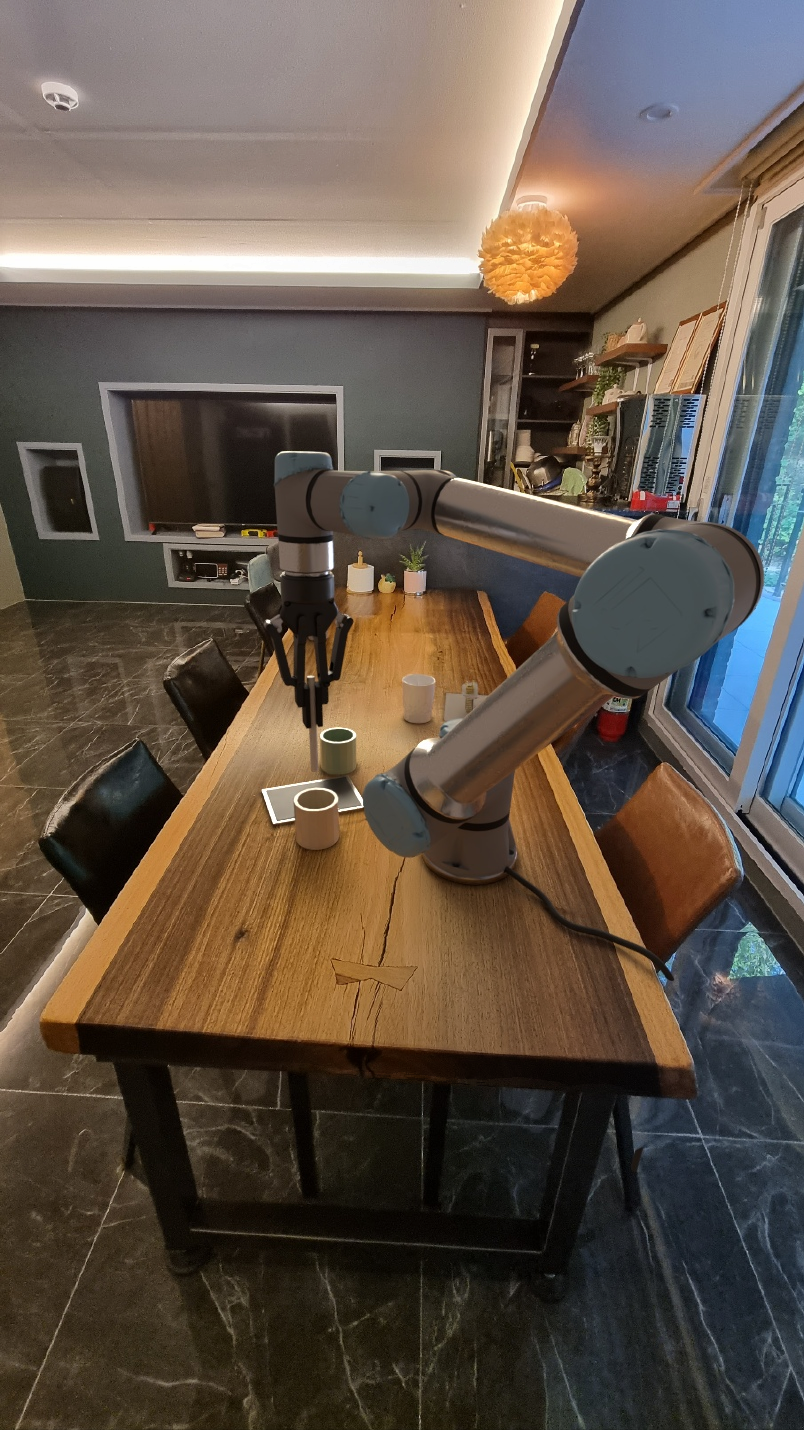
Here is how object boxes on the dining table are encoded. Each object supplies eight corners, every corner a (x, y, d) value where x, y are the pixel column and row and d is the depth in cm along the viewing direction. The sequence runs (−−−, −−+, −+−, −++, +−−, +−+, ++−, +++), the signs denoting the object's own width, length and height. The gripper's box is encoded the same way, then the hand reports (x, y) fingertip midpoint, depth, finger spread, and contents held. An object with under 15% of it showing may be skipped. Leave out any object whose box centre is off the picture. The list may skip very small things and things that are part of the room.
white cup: (430, 726, 145) (432, 687, 141) (398, 722, 147) (399, 683, 143) (435, 713, 152) (437, 675, 148) (404, 710, 154) (405, 672, 150)
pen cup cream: (343, 844, 102) (343, 806, 99) (301, 853, 99) (299, 814, 96) (332, 821, 108) (331, 784, 105) (291, 829, 105) (289, 791, 102)
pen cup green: (360, 773, 124) (360, 740, 121) (326, 779, 121) (325, 745, 118) (350, 757, 130) (350, 725, 127) (317, 762, 128) (316, 730, 124)
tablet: (367, 810, 111) (367, 805, 111) (273, 828, 106) (273, 823, 105) (348, 779, 122) (348, 774, 121) (261, 793, 116) (261, 789, 115)
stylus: (319, 771, 98) (315, 677, 92) (311, 772, 98) (307, 678, 91) (317, 768, 99) (313, 675, 93) (310, 769, 99) (306, 675, 92)
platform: (443, 720, 149) (445, 695, 146) (446, 693, 165) (447, 670, 162) (493, 723, 148) (495, 698, 145) (490, 695, 164) (492, 672, 161)
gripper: (348, 564, 91) (349, 709, 101) (251, 568, 86) (262, 720, 96) (363, 573, 85) (363, 727, 94) (260, 579, 80) (271, 740, 90)
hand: (312, 723), depth 95 cm, fingers closed on stylus
